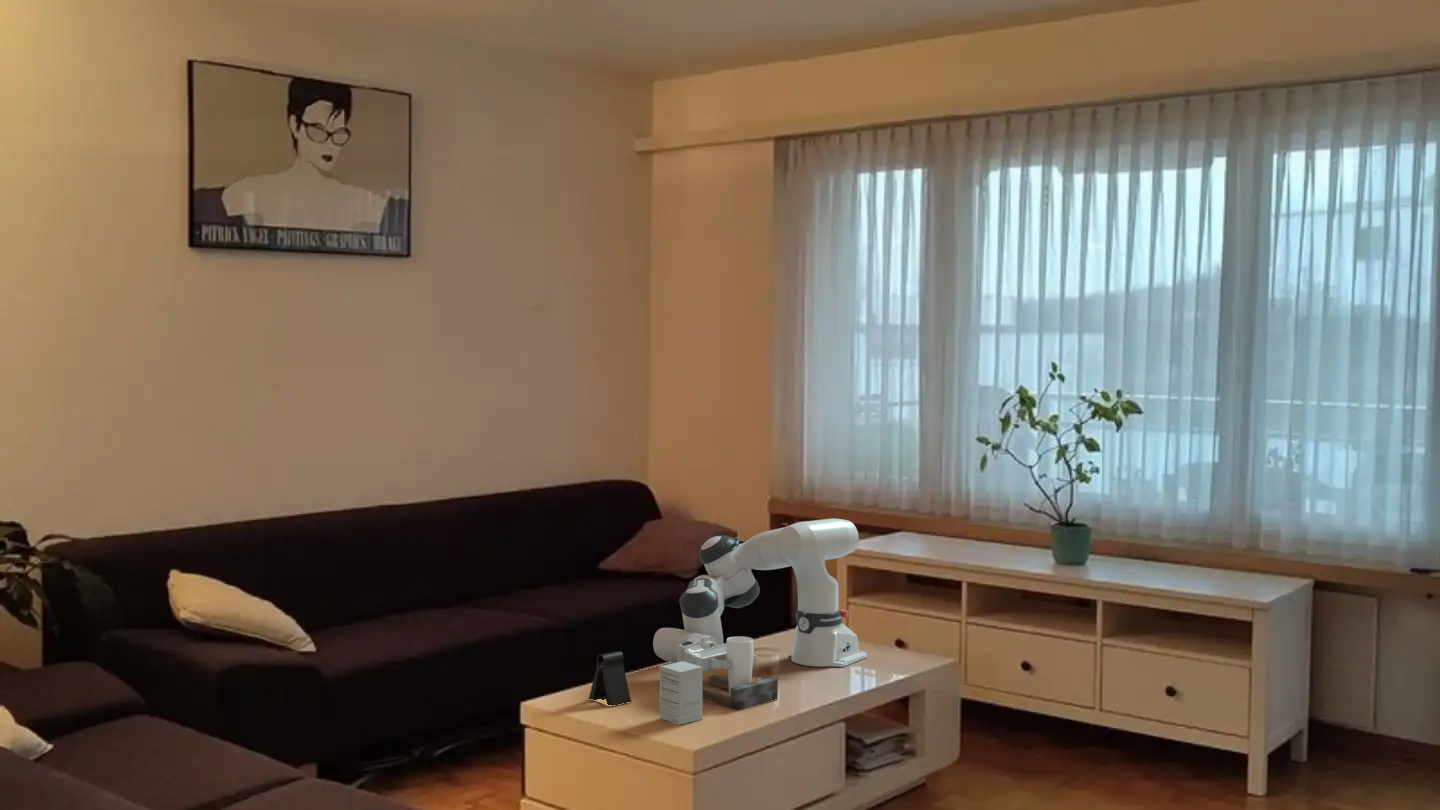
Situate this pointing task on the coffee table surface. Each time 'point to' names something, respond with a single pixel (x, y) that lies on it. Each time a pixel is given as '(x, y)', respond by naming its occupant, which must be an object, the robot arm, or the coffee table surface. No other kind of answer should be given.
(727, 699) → the guide track
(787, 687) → the coffee table surface
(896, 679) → the coffee table surface
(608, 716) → the coffee table surface
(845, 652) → the robot arm
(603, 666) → the phone stand
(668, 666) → the supplement box
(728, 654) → the drinking glass
